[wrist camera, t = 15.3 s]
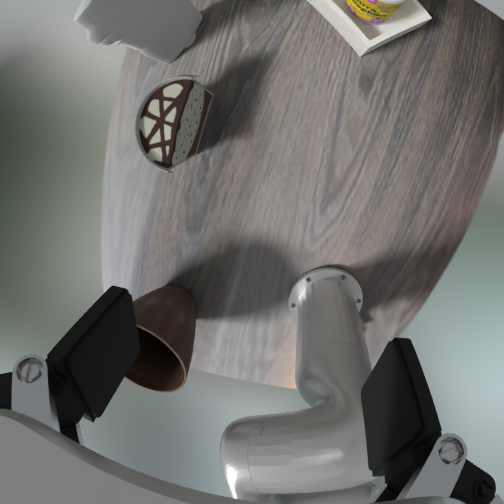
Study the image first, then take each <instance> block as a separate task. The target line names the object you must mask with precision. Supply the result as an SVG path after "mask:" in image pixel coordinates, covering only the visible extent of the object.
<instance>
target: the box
mask: <svg viewBox="0 0 504 504" xmlns="http://www.w3.org/2000/svg"><path fill="white" fill-rule="evenodd" d="M307 1H308V2H309V3H310V4H312V5H313V6H314V7H315V8H316V9H317V10H318V11H319V12H320V13H321V14H322V15H323V16H324V17H325V18H326V19H327V20H328V21H329V22H330V23H331V24H332V25H333V26H334V27H335V29H336V30H337V31H338V32H339V33H340V34H341V35H342V36H343V37H344V38H345V40H346V41H347V42H348V43H349V44H350V45H351V46H352V48H353V49H354V50H355V51H356V52H357V54H358V55H359V56H360V57H361V56H363V55H365V54H367V53H369V52H370V51H372V50H374V49H376V48H378V47H380V46H382V45H384V44H386V43H388V42H390V41H392V40H394V39H396V38H398V37H400V36H402V35H404V34H406V33H408V32H410V31H412V30H415V29H417V28H419V27H420V26H422V25H423V24H425V23H426V22H427V21H429V20H430V19H432V17H431V16H430V15H429V14H428V12H427V11H426V10H425V9H424V8H423V6H422V5H421V4H420V3H419V2H418V1H417V0H406V1H405V2H404V3H403V4H402V5H401V6H400V7H399V8H398V9H397V10H396V11H395V12H394V14H393V15H392V16H391V17H390V18H389V19H388V20H387V21H385V22H384V23H382V24H378V25H371V24H366V23H363V22H361V21H359V20H357V19H356V18H354V17H353V16H352V15H351V14H350V13H349V11H348V10H347V8H346V5H345V0H307Z"/></svg>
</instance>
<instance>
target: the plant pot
mask: <svg viewBox="0 0 504 504" xmlns="http://www.w3.org/2000/svg"><path fill="white" fill-rule="evenodd" d="M133 307H134V314H135V320H136V326H137V331H138V337H139V342H140V351H139V354H138V356H137V357H136V359H135V360H134V362H133V364H132V365H131V367H130V369H129V370H128V372H127V373H126V375H125V378H126V379H128V380H129V381H131V382H132V383H134V384H136V385H138V386H140V387H143V388H145V389H148V390H151V391H156V392H165V393H166V392H174V391H177V390H179V389H180V388H182V387H183V386H184V384H185V382H186V378H187V375H188V371H189V366H190V362H191V357H192V352H193V346H194V338H195V326H196V308H195V301H194V299H193V297H192V295H191V294H190V293H189V292H188V291H187V290H186V289H184V288H182V287H180V286H177V285H167V286H164V287H161V288H159V289H156V290H154V291H152V292H150V293H148V294H146V295H144V296H142V297H140V298H138V299H137V300H135V301H133Z"/></svg>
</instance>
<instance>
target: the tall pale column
mask: <svg viewBox="0 0 504 504" xmlns="http://www.w3.org/2000/svg"><path fill="white" fill-rule="evenodd" d="M202 20H203V15H202V14H201V13H200V12H199V11H198V10H197V9H196V8H195V7H194V5H193V4H192V3H191V2H190V1H189V0H82V1H81V3H80V5H79V7H78V9H77V11H76V13H75V16H74V20H73V21H74V22H75V23H76V24H78V25H80V26H81V27H82V28H83V29H84V30H86V32H87V41H89V42H92V43H96V44H100V45H110V44H112V43H115V44H117V45H119V44H120V45H123V46H127V47H131V48H132V49H136V50H140V51H141V52H142V54H143V55H144V56H147V57H150V58H152V59H155V60H157V61H160V62H163V63H165V64H170V63H172V62H174V61H175V59H176V58H177V57H178V56H179V55H180V53H181V52H182V51H183V50H184V49H185V48H188V47H189V46H191V45H192V44H193V43H194V41H195V39H196V31H197V29H198V27H199V25H200V24H201V22H202Z"/></svg>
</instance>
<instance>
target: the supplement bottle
mask: <svg viewBox="0 0 504 504" xmlns="http://www.w3.org/2000/svg"><path fill="white" fill-rule="evenodd" d="M405 1H406V0H345V5H346V8H347V10H348V11H349V13H350V14H351V15H352V16H353V17H354V18H356V19H357V20H359V21H361V22H363V23H366V24H371V25H378V24H382V23H384V22H385V21H387V20H388V19H389V18H390V17H391V16H392V15H393V14H394V12H395V11H396V10H397V9H398V8H399V7H400V6H401V5H402V4H403V3H404V2H405Z"/></svg>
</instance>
